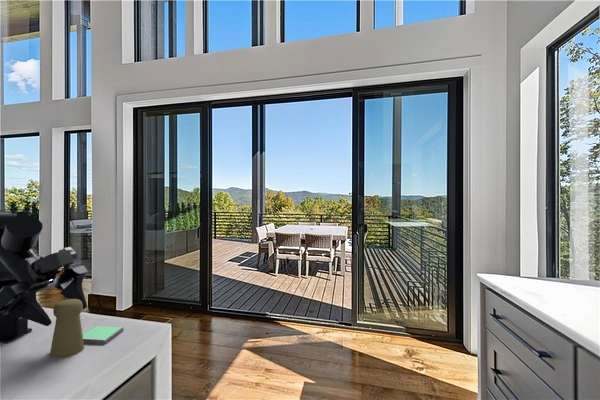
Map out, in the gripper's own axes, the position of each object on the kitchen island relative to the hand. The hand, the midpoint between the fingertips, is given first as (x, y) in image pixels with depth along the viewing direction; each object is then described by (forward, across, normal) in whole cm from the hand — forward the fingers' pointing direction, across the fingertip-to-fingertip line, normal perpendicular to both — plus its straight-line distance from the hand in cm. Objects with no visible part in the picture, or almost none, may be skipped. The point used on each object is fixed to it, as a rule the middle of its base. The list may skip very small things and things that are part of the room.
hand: (68, 315), depth 68 cm
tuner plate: (+7, +8, +4) cm, 11 cm away
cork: (+5, 0, +6) cm, 8 cm away
